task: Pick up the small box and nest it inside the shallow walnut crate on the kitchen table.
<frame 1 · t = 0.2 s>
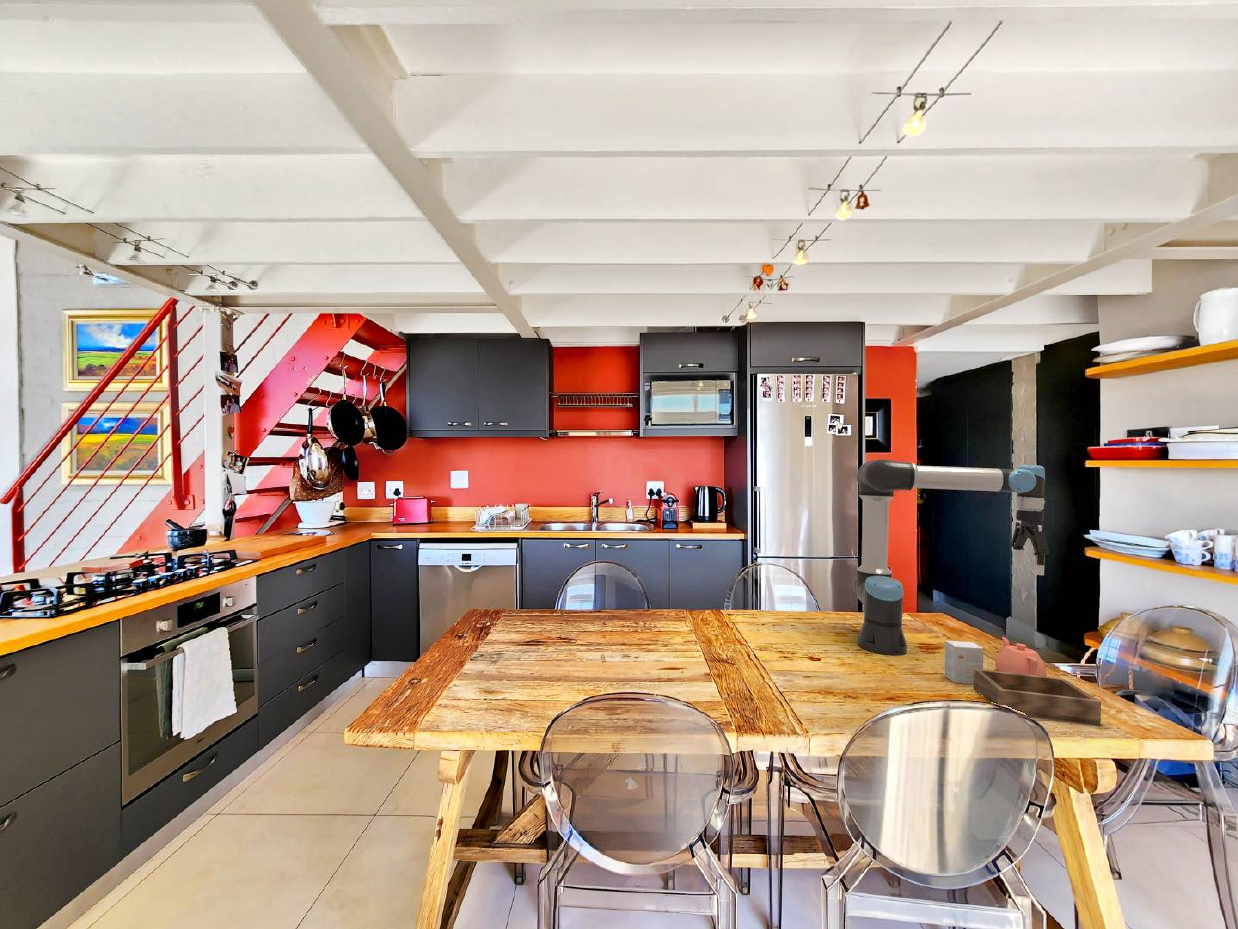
hand: (1028, 571, 183), 28 cm above the table, fingers open, 13 cm apart
teapot: (1018, 675, 160), on the table
crate: (1032, 705, 138), on the table
small box: (963, 681, 154), on the table
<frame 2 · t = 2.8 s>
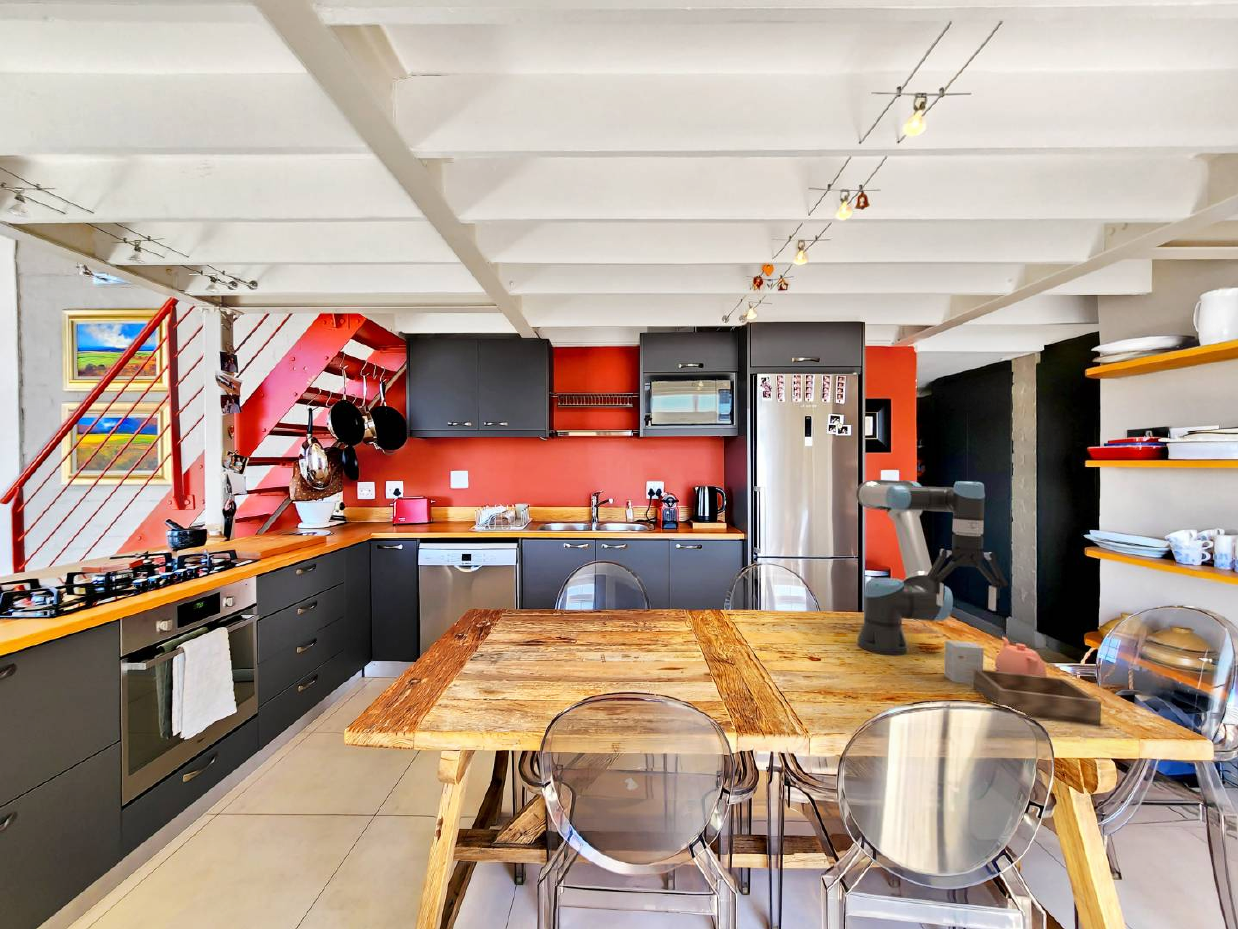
hand: (965, 607, 154), 21 cm above the table, fingers open, 13 cm apart
nothing on the table moved.
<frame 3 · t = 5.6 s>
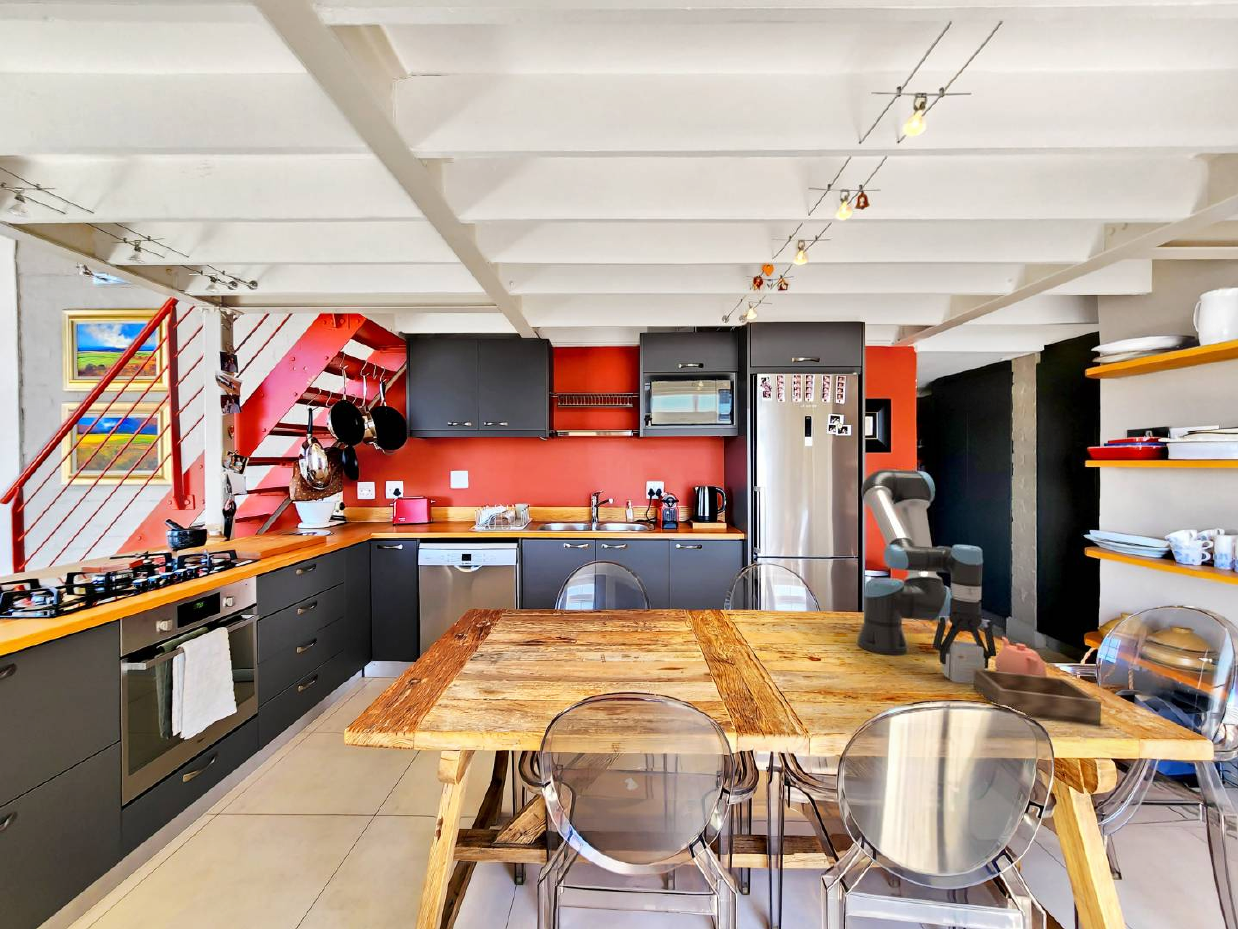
hand: (963, 677, 154), 1 cm above the table, fingers closed on small box, 8 cm apart
small box: (963, 680, 154), on the table, touching gripper
everything else where it was.
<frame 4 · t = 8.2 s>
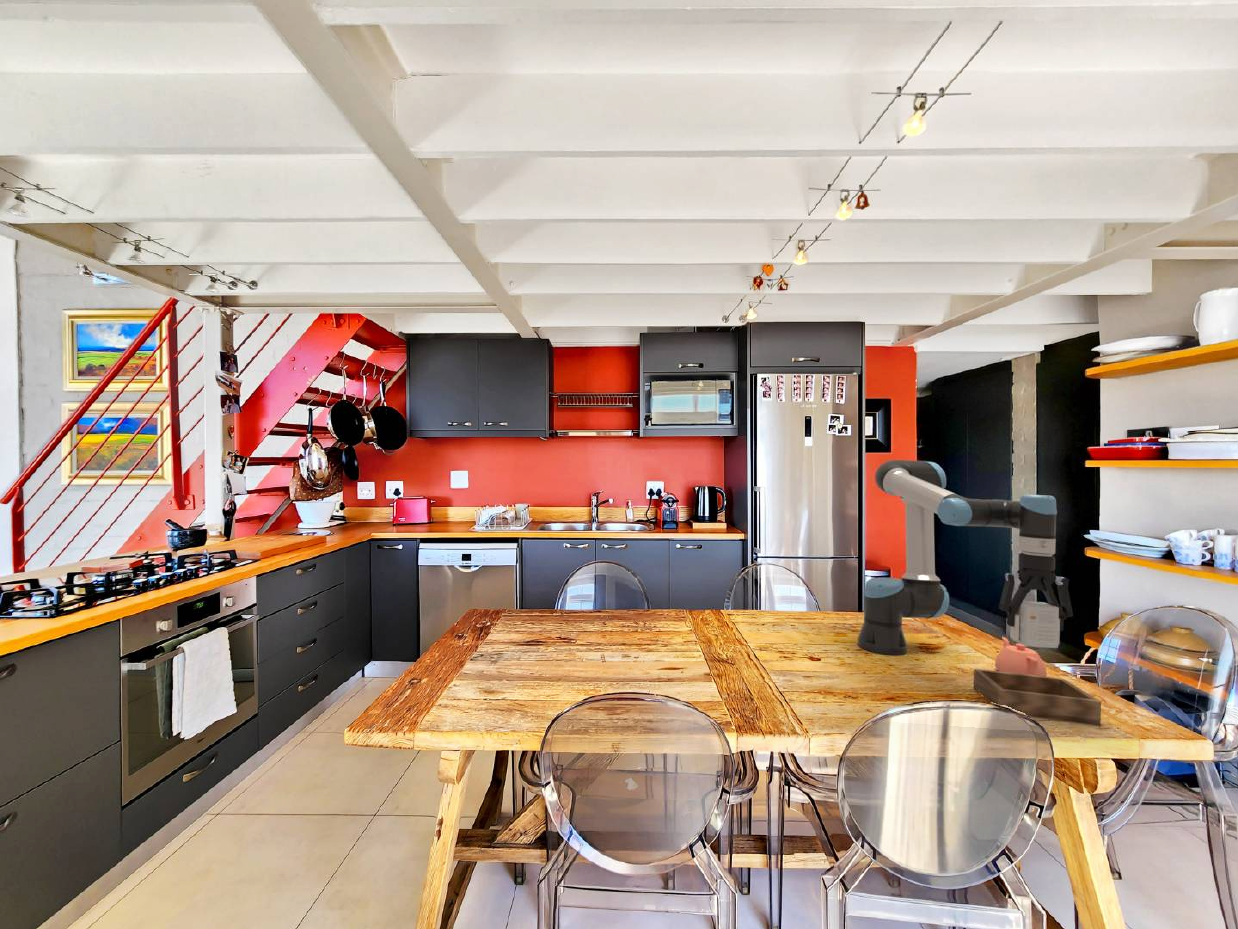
hand: (1034, 640, 138), 17 cm above the table, fingers closed on small box, 8 cm apart
small box: (1034, 645, 138), point 16 cm above the table, touching gripper
everything else where it was.
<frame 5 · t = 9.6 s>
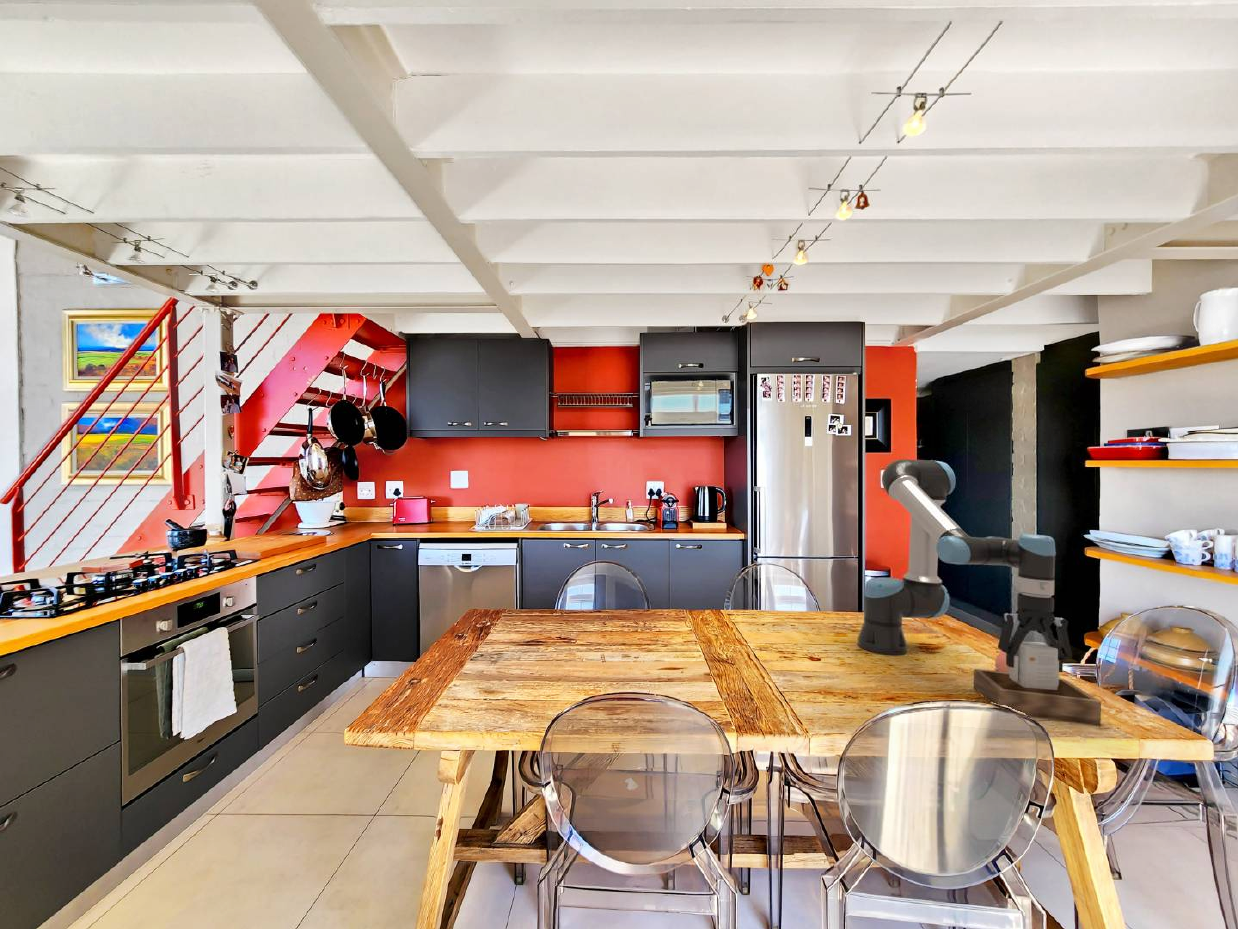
hand: (1033, 681, 138), 6 cm above the table, fingers closed on small box, 8 cm apart
small box: (1033, 686, 138), point 5 cm above the table, touching gripper
everything else where it was.
when the fingers open (4 cm above the table, at t = 10.8 s): small box drops 2 cm, resting on crate.
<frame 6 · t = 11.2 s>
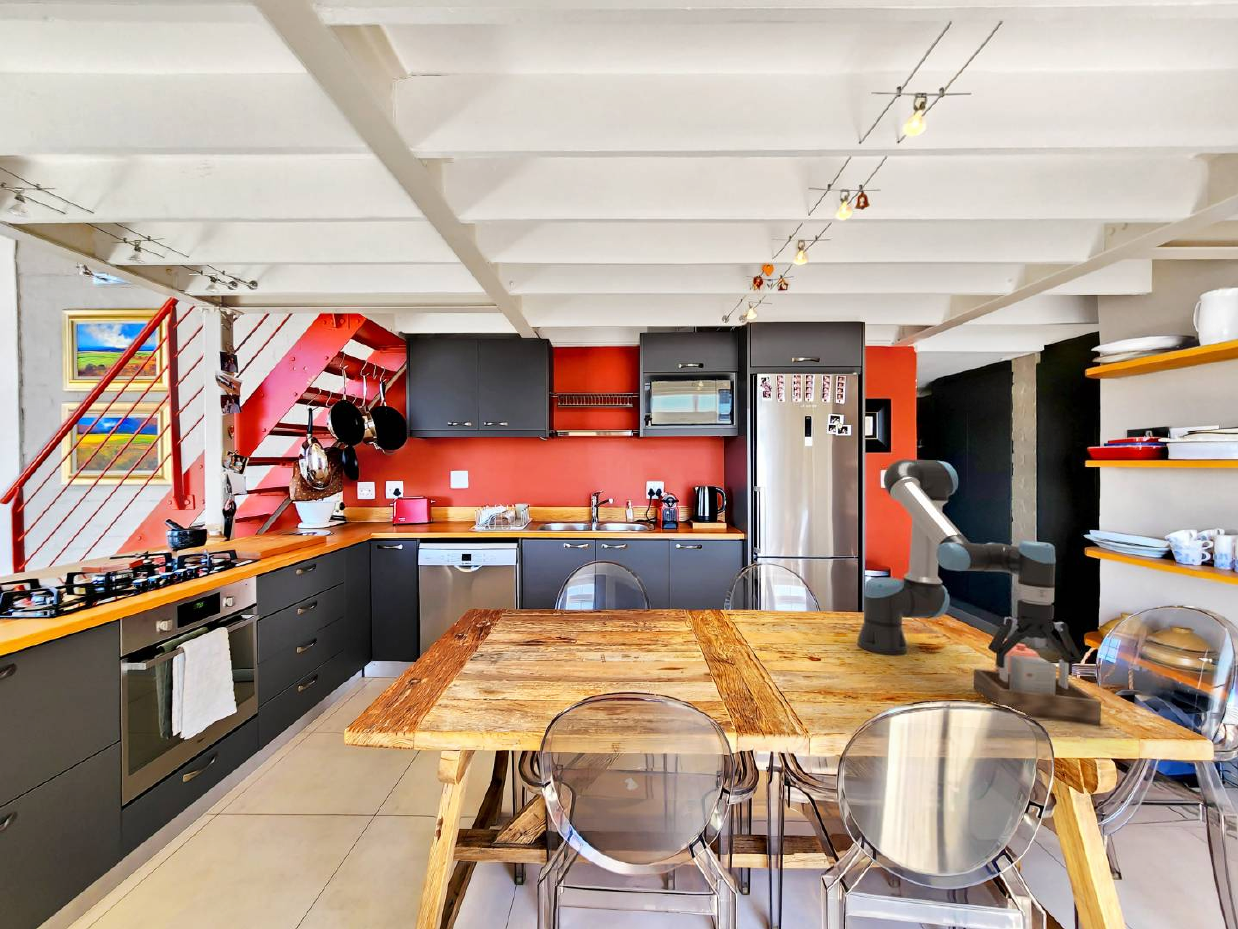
hand: (1033, 683, 138), 6 cm above the table, fingers open, 13 cm apart
small box: (1031, 701, 138), point 1 cm above the table, touching crate
everything else where it was.
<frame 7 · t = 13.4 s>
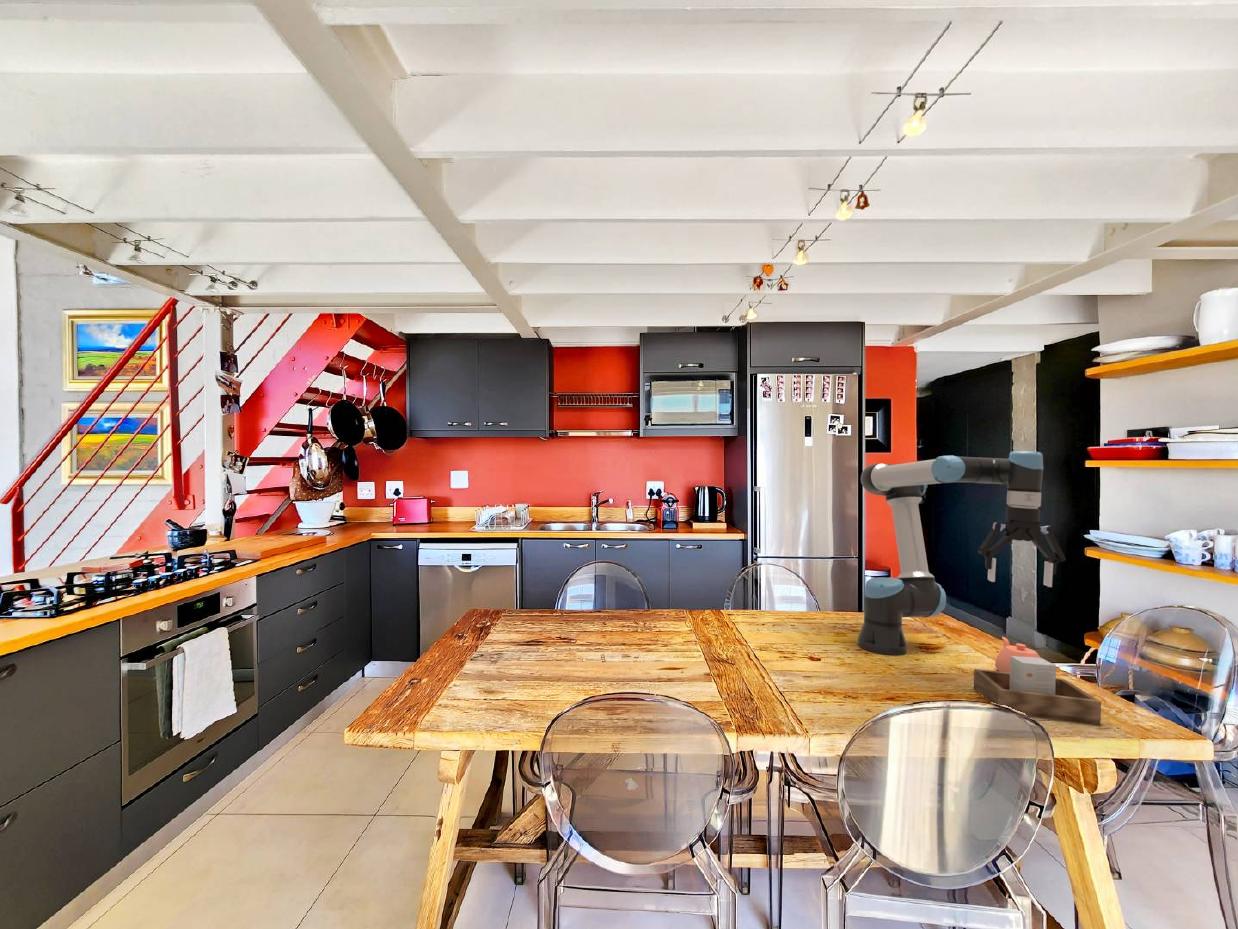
hand: (1019, 583, 147), 30 cm above the table, fingers open, 13 cm apart
nothing on the table moved.
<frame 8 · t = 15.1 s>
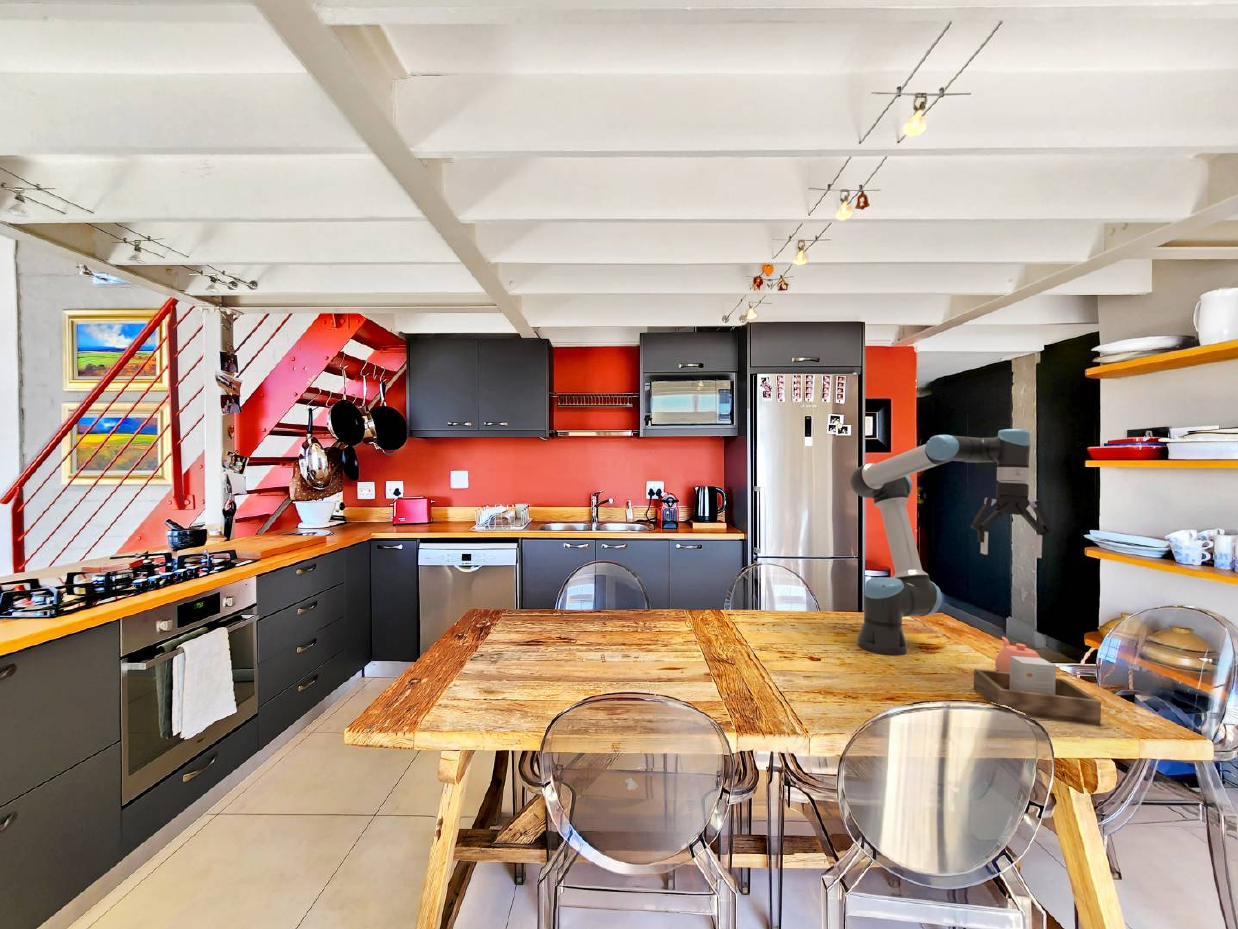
hand: (1010, 555, 154), 37 cm above the table, fingers open, 13 cm apart
nothing on the table moved.
at the end: small box inside the target area on the crate (0.3 cm from its centre), point 1.0 cm above the crate's base; small box tilted 0°; the gripper is holding nothing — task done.
